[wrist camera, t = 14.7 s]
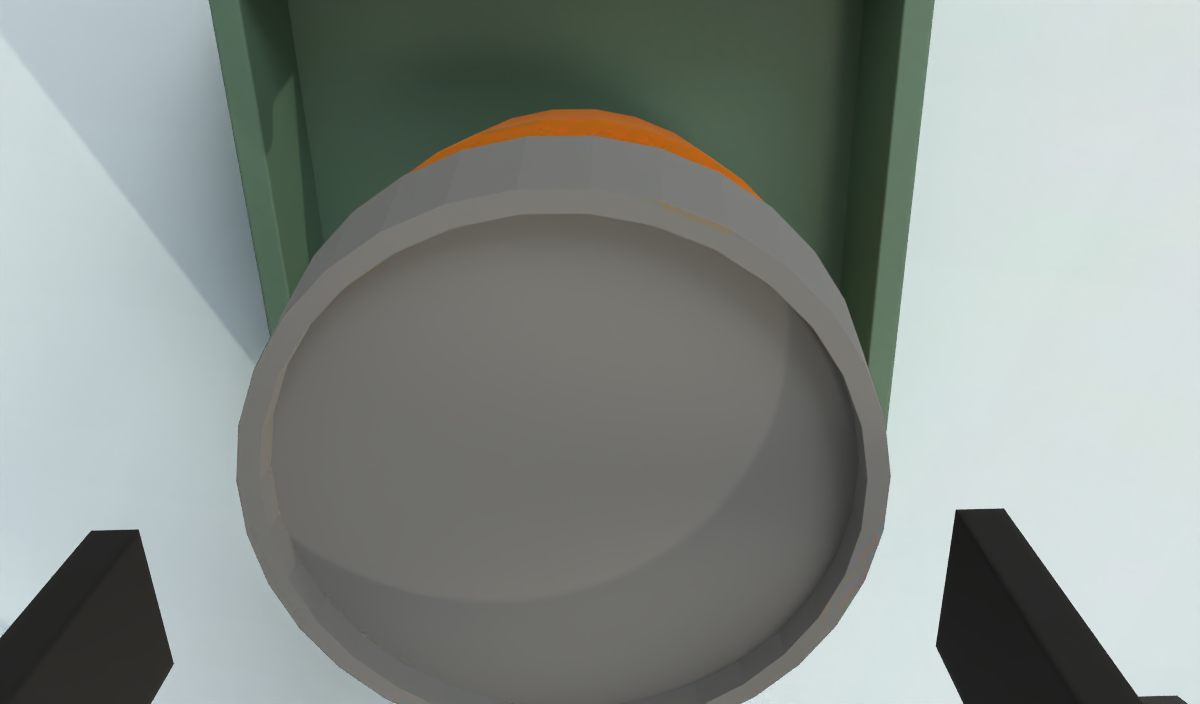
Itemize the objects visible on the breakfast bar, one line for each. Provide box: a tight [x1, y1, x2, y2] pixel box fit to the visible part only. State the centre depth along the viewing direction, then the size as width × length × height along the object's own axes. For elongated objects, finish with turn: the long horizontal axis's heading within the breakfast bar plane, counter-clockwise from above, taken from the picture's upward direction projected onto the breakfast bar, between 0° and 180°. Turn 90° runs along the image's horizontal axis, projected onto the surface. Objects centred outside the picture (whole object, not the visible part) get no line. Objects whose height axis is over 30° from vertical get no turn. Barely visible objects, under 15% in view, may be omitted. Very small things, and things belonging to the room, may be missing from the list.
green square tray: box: [209, 0, 935, 429], centre depth 30 cm, size 19×19×5 cm
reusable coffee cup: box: [236, 109, 891, 704], centre depth 24 cm, size 13×12×15 cm
